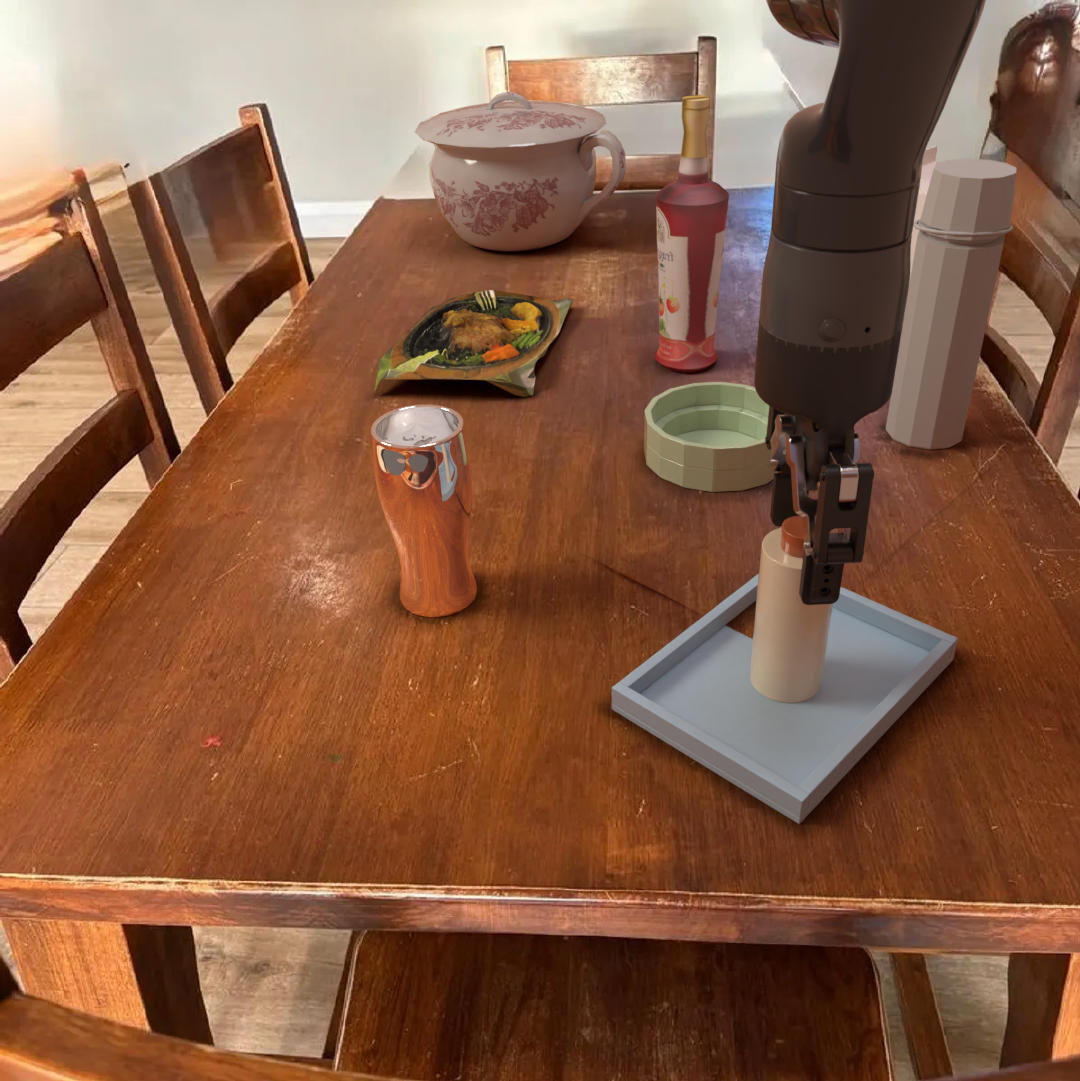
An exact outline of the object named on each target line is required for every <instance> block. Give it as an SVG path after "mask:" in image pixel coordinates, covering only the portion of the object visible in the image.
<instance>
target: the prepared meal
mask: <svg viewBox="0 0 1080 1081" xmlns="http://www.w3.org/2000/svg"><path fill="white" fill-rule="evenodd" d="M574 301H575V299H574V298H572V299H570V298H569V297H566V298H563V299H560V300H554V299H551V298H547V297H541V296H535V295H527V294H522V293H515V292H510V291H503V290H498V289H489V290H481V291H478V292H477V291H474V292H472V293H466V294H463V295H459V296H455V297H452V298H448V299H447V300H445V301H444V302H442V303H441V304H438V305H436V306H432V307H431V308H430V309H428V311H427V312H424V314H423V315H421V317H419V319H418V320H417V321H416V322H415V323H413V325H412V326H411V327H410V328H409V329H408V330H407V331H406V332H405V333H404V334H403V335H402V336H401V337H400V338H399V339H398V340H397V341H396V343H395V345H394V346H392V347H390V348H389V349H388V350H387V352H386V353H384V355H383V356H381V357H380V359H378V367H377V372H376V379H375V385H374V391H373V392H375V391H376V389H377V388H378V385H379V383H380V382H381V380H439V381H448V380H450V381H462V380H465V381H467V380H468V381H469V380H470V381H471V380H472V381H485V382H488V383H490V384H492V385H493V386H496V387H498V388H500V389H502V390H504V391H506V392H508V393H510V394H512V395H514V396H516V397H522V398H526V397H531V396H534V390H535V384H536V375H535V367H536V363H537V361H538V360H539V359H541V358H543V357H544V356H545V355H546V353H547V351H548V349H549V347H550V345H551V344H552V342H554V341H555V340H556V338H557V337H558V335H559V333H560V332H561V329H562V326H563V323H564V322H565V319H566V317H567V315H568V313H569V310H570V308H571V307H572V305H573V303H574Z"/></svg>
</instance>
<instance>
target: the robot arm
mask: <svg viewBox="0 0 1080 1081" xmlns="http://www.w3.org/2000/svg"><path fill="white" fill-rule="evenodd" d="M986 1H987V0H766V5H767V7H768V9H769V12H770V14H771V15H772V18H774V19H775V21H776V23H777V24H778V25H779V26H780V27H781V28H782V29H784V31H786V32H787V33H789V34H790V35H791V36H794V37H796V38H797V39H799V40H802V41H805V42H808V43H812V44H816V45H819V46H820V45H821V46H826V47H831V48H836V49H838V53H837V59H836V63H835V66H834V71H833V73H832V77H831V80H830V84H829V87H828V90H827V93H826V95H825V99H824V102H819V103H815V104H812V105H809V106H806V107H803V108H802V109H800V110H798V111H797V112H796V113H794V114H792V116H790V118H789V119H788V120H787V122H786V123H785V124H784V126H783V129H782V131H781V134H780V138H779V141H778V147H777V153H776V160H775V175H774V188H773V199H772V200H773V202H772V214H771V224H770V225H771V226H770V227H771V228H770V235H769V241H768V244H767V245H768V246H767V251H766V254H765V259H764V263H763V270H762V275H761V276H762V278H761V287H760V302H759V314H758V315H759V316H758V328H757V340H756V341H757V342H756V356H755V368H754V382H753V383H754V387H755V389H756V392H757V394H758V395H759V397H760V398H761V399H762V400H763V401H764V402H765V403H766V404H768V405H769V415H768V424H767V434H766V437H765V444H766V445H767V449H768V450H772V455H771V458H770V466H771V468H772V471H773V472H775V471H778V473H774V479H773V480H772V490H771V491H772V492H771V500H770V513H769V517H770V520H771V522H772V524H773V525H774V526H775V527H782V523H783V522H784V521H785V520H786V519H787V518H790V517H793V516H801V517H802V519H803V532H804V541H803V548H804V554H803V563H802V571H801V580H800V588H799V595H800V597H801V600H802V602H803V603H804V604H806V605H821V604H833V603H835V602H836V601H837V600H838V599H839V595H840V588H841V587H842V580H843V574H844V567H845V564H859V563H862V561H863V559H864V558H863V557H864V553H865V545H866V544H865V543H866V536H867V527H868V520H869V513H870V507H871V506H870V505H871V498H872V492H873V491H872V490H873V482H874V478H875V470H874V467H873V465H872V463H871V462H858V461H859V459H860V457H861V444H860V442H861V441H860V435H859V433H858V431H856V430H855V428H854V427H855V425H856V424H857V423H858V422H859V421H861V420H862V419H863V418H865V417H866V416H869V415H870V414H873V413H875V412H877V411H879V410H880V409H881V408H883V407H884V406H885V405H886V404H887V403H888V402H889V401H890V399H891V394H892V389H893V383H894V377H895V370H896V364H897V358H898V352H899V346H900V339H901V333H902V327H903V321H904V314H905V308H906V302H907V296H908V289H909V282H910V252H911V239H912V231H913V225H914V219H915V212H916V206H917V200H918V193H919V187H920V179H921V172H922V162H923V156H924V152H925V150H926V149H927V146H928V144H929V142H930V139H931V138H932V135H933V133H934V131H935V128H936V127H937V125H938V122H939V120H940V118H941V116H942V114H943V111H944V109H945V107H946V105H947V102H948V100H949V97H950V94H951V91H952V89H953V86H954V84H955V82H956V79H957V77H958V75H959V72H960V69H961V67H962V65H963V62H964V60H965V58H966V55H967V53H968V51H969V48H970V46H971V43H972V42H973V38H974V36H975V33H976V31H977V28H978V26H979V23H980V20H981V17H982V14H983V12H984V9H985V5H986ZM857 462H858V463H857ZM811 491H812V492H814V491H815V492H817V491H818V493H817V494H818V495H817V499H813V498H811V497H810V496H809V494H810V492H811ZM835 529H837V532H831V531H832V530H835Z"/></svg>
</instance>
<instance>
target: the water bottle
mask: <svg viewBox="0 0 1080 1081" xmlns="http://www.w3.org/2000/svg"><path fill="white" fill-rule="evenodd" d="M1017 169H1018V168H1017V167H1016V166H1014V165H1013V164H1010V163H1007V162H1003V161H999V160H993V159H986V158H985V159H984V158H969V157H968V158H957V159H956V158H955V159H946V160H943V161H940V162H937V163H936V165H935V167H934V169H933V173H932V177H931V181H930V184H929V188H928V192H927V196H926V200H925V203H924V207H923V211H922V215H921V218H920V219H919V220H916V221H915V222H914V225H913V226H914V227H915V229H918V230H920V231H919V233H918V236H917V241H916V247H915V253H914V259H913V266H912V272H911V278H910V284H909V290H908V296H907V302H906V308H905V314H904V321H903V327H902V333H901V339H900V346H899V352H898V358H897V364H896V370H895V377H894V383H893V389H892V394H891V396H890V398H889V406H888V412H887V418H886V423H885V432H886V433H887V434H888V435H889V436H890V437H891V438H892V440H893V441H895V442H897V443H900V444H902V445H904V446H906V447H909V448H913V449H919V450H920V449H921V450H926V451H932V450H944V449H949V448H952V447H953V446H956V445H957V444H959V443H961V442H962V441H963V437H964V431H965V427H966V422H967V417H968V413H969V408H970V403H971V400H972V394H973V390H974V385H975V381H976V377H977V372H978V367H979V361H980V357H981V352H982V347H983V343H984V338H985V333H986V329H987V324H988V319H989V314H990V311H991V305H992V300H993V296H994V291H995V286H996V281H997V276H998V273H999V269H1000V268H999V267H1000V264H1001V258H1002V254H1003V249H1004V245H1005V241H1006V235H1008V233H1010V232H1011V231H1012V230H1013V229H1014V226H1013V225H1012V224H1011V221H1012V213H1013V205H1014V196H1015V190H1016V189H1015V188H1016V187H1015V186H1016V179H1017V172H1018V171H1017ZM917 224H918V225H917Z"/></svg>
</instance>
